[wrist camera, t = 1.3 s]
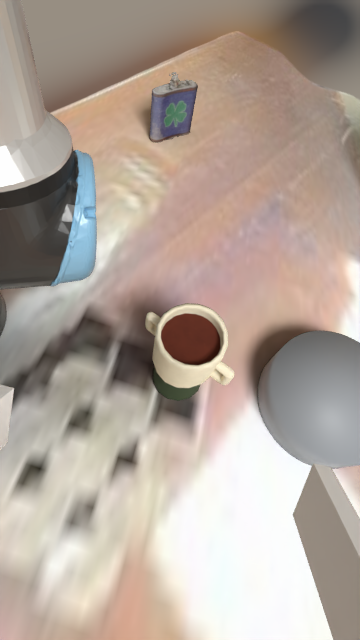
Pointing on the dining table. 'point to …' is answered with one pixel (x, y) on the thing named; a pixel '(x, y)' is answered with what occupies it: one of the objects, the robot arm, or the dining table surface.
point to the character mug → (188, 349)
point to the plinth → (314, 398)
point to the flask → (172, 109)
